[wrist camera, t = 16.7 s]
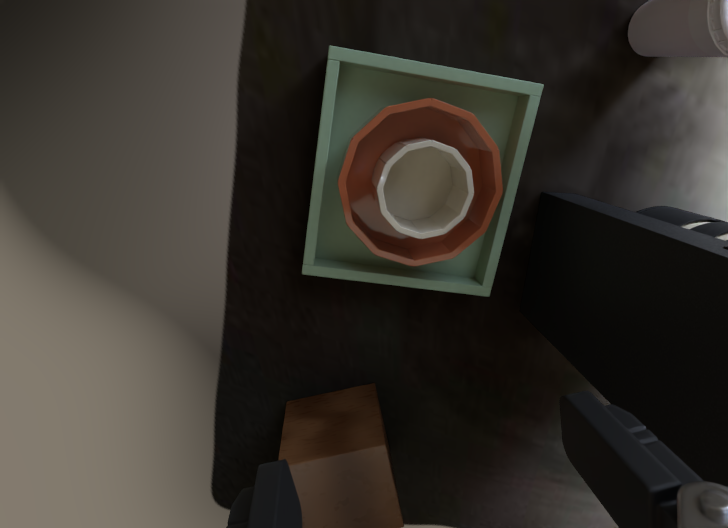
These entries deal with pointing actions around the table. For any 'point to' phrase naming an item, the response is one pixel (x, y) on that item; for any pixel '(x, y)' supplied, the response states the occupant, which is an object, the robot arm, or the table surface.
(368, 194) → the big bowl
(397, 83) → the tray
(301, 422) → the block
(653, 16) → the lidded coffee cup
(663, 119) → the table surface
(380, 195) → the small bowl
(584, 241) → the light fixture
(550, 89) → the table surface
